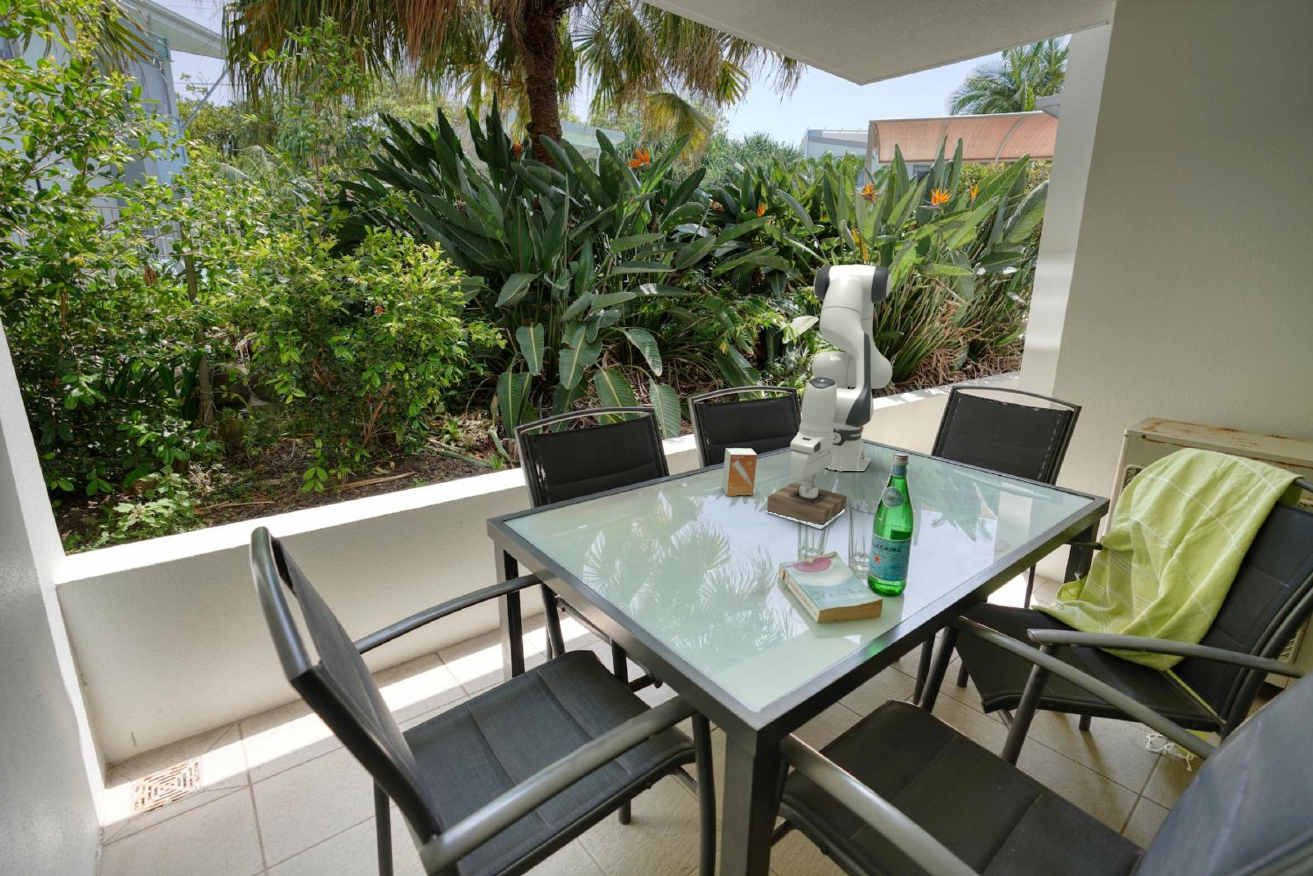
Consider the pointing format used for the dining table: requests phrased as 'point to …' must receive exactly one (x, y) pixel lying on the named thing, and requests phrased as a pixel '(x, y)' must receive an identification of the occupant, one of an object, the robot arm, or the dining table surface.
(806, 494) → the peg
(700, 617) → the dining table surface
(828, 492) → the socket block
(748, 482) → the small box
